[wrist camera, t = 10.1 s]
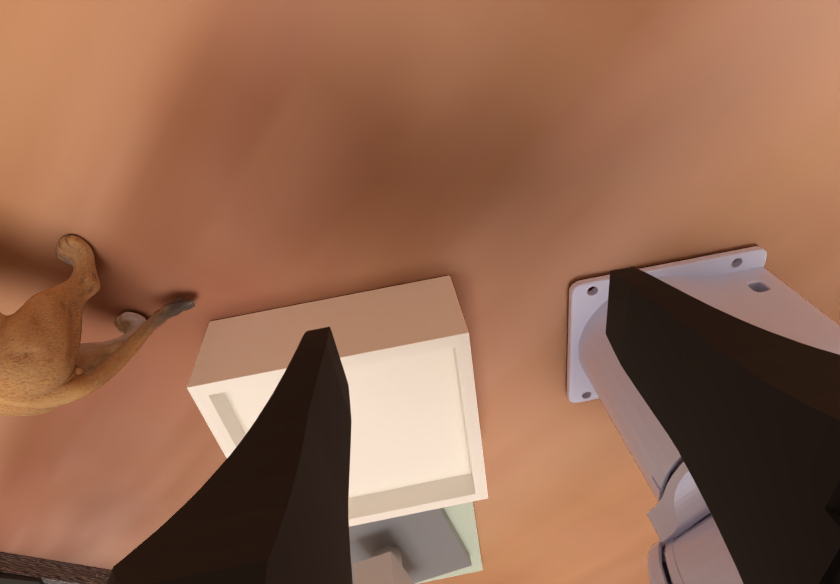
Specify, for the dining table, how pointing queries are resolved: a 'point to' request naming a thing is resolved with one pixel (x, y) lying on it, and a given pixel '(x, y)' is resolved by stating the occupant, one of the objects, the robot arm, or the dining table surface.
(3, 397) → the lion figurine
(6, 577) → the picture frame
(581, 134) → the dining table surface
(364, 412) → the tray
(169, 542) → the robot arm
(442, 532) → the grey cover
